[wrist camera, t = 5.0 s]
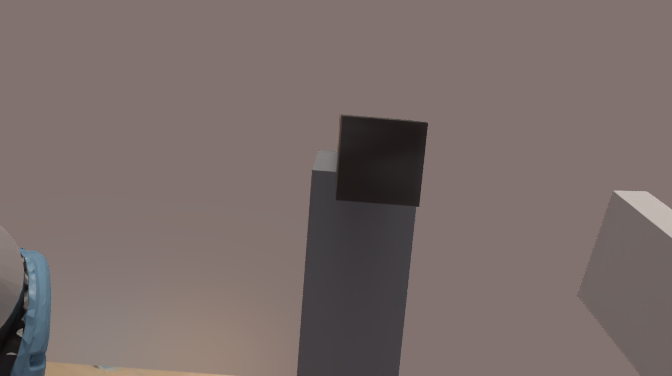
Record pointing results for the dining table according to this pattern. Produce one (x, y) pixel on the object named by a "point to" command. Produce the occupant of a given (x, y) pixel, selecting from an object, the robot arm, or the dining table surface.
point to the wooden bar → (380, 160)
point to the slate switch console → (353, 281)
